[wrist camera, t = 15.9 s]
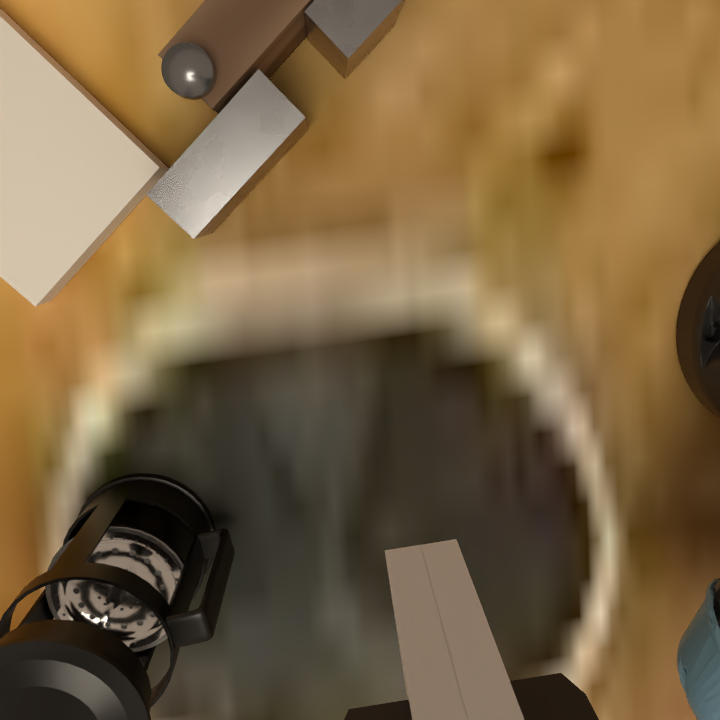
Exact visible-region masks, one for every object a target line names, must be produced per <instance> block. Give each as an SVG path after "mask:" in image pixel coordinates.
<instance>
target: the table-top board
mask: <svg viewBox="0 0 720 720" xmlns="http://www.w3.org/2000/svg"><path fill="white" fill-rule="evenodd" d="M168 170H169V168H168V167H167V166H166V165H165V164H164V163H162V162H161V161H160V160H159V159H158V158H157V157H156V156H155V155H154V154H153V153H152V152H151V151H150V150H149V149H148V148H147V147H146V146H145V145H144V144H142V143H141V142H140V141H139V140H138V139H137V138H136V137H135V136H134V135H133V134H132V133H131V132H130V131H129V130H128V129H127V128H126V127H125V126H124V125H123V124H121V123H120V122H119V121H118V120H117V119H116V118H115V117H114V116H113V115H112V114H111V113H110V112H109V111H108V110H107V109H106V108H105V107H104V106H103V105H102V104H100V103H99V102H98V101H97V100H96V99H95V98H94V97H93V96H92V95H91V94H90V93H89V92H88V91H87V90H86V89H85V88H84V87H83V86H82V85H80V84H79V83H78V82H77V81H76V80H75V79H74V78H73V77H72V76H71V75H70V74H69V73H68V72H67V71H66V70H65V69H64V68H63V67H62V66H61V65H59V64H58V63H57V62H56V61H55V60H54V59H53V58H52V57H51V56H50V55H49V54H48V53H47V52H46V51H45V50H44V49H43V48H42V47H41V46H40V45H38V44H37V43H36V42H35V41H34V40H33V39H32V38H31V37H30V36H29V35H28V34H27V33H26V32H25V31H24V30H23V29H22V28H21V27H20V26H19V25H17V24H16V23H15V22H14V21H13V20H12V19H11V18H10V17H9V16H8V15H7V14H6V13H5V12H4V11H3V10H2V9H1V8H0V277H1V278H3V279H4V280H5V281H6V282H7V283H8V284H10V285H11V286H12V287H13V288H14V289H15V290H17V291H18V292H19V293H20V294H21V295H22V296H24V297H25V298H26V299H27V300H28V301H30V302H31V303H32V304H33V305H34V306H35V307H36V306H38V305H41V304H44V303H46V302H49V301H52V300H53V299H54V298H55V296H56V295H57V294H58V293H59V292H60V291H61V290H62V289H63V288H64V286H65V285H66V284H67V283H68V282H69V281H70V280H71V279H72V277H73V276H74V275H75V274H76V273H77V272H78V271H79V270H80V269H81V267H82V266H83V265H84V264H85V263H86V262H87V261H88V260H89V258H90V257H91V256H92V255H93V254H94V253H95V252H96V251H97V250H98V248H99V247H100V246H101V245H102V244H103V243H104V242H105V241H106V240H107V238H108V237H109V236H110V235H111V234H112V233H113V232H114V231H115V229H116V228H117V227H118V226H119V225H120V224H121V223H122V222H123V221H124V219H125V218H126V217H127V216H128V215H129V214H130V213H131V212H132V211H133V209H134V208H135V207H136V206H137V205H138V204H139V203H140V202H141V200H142V199H143V198H144V197H145V196H146V194H147V193H148V192H149V191H150V190H151V189H152V188H153V187H154V185H155V184H156V183H157V182H158V181H159V180H160V179H161V178H162V176H163V175H164V174H165V173H166V172H167V171H168Z"/></svg>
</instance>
